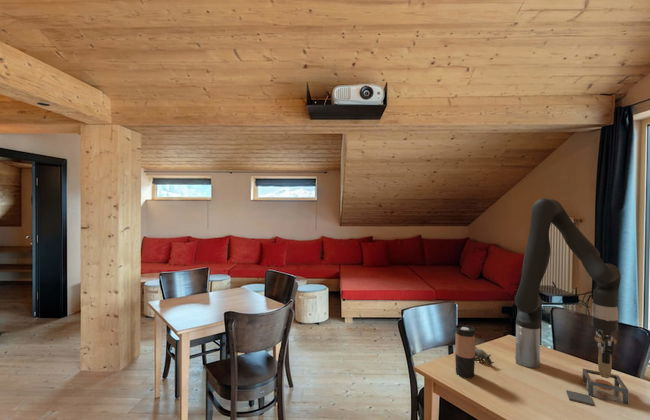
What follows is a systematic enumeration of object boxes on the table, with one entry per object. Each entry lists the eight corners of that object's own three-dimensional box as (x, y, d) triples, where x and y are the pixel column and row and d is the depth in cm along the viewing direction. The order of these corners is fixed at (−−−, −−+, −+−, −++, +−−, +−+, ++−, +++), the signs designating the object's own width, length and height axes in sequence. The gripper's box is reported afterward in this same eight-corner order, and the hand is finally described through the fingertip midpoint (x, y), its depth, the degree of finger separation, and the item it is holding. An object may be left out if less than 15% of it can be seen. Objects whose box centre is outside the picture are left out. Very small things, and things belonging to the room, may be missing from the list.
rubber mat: (569, 400, 116) (569, 398, 116) (566, 391, 121) (566, 390, 121) (593, 405, 112) (593, 404, 112) (589, 396, 117) (589, 395, 117)
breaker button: (597, 388, 119) (597, 384, 119) (593, 381, 124) (593, 378, 124) (614, 391, 117) (614, 388, 117) (610, 385, 121) (610, 381, 121)
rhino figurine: (490, 369, 137) (490, 356, 137) (464, 356, 150) (464, 343, 149) (496, 367, 139) (496, 354, 139) (470, 354, 151) (470, 342, 151)
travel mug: (466, 380, 128) (466, 332, 128) (451, 372, 135) (451, 326, 135) (478, 376, 132) (479, 329, 132) (463, 367, 139) (463, 323, 138)
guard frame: (589, 395, 118) (589, 381, 118) (582, 381, 128) (582, 368, 128) (628, 404, 113) (628, 390, 113) (618, 388, 123) (618, 375, 122)
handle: (618, 380, 118) (619, 341, 117) (599, 379, 118) (600, 340, 118) (609, 373, 122) (609, 335, 122) (590, 372, 123) (591, 334, 123)
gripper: (587, 309, 128) (587, 350, 128) (596, 320, 116) (596, 366, 116) (611, 312, 124) (611, 355, 125) (624, 324, 112) (623, 371, 112)
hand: (604, 360), depth 120 cm, fingers closed on handle, 4 cm apart
